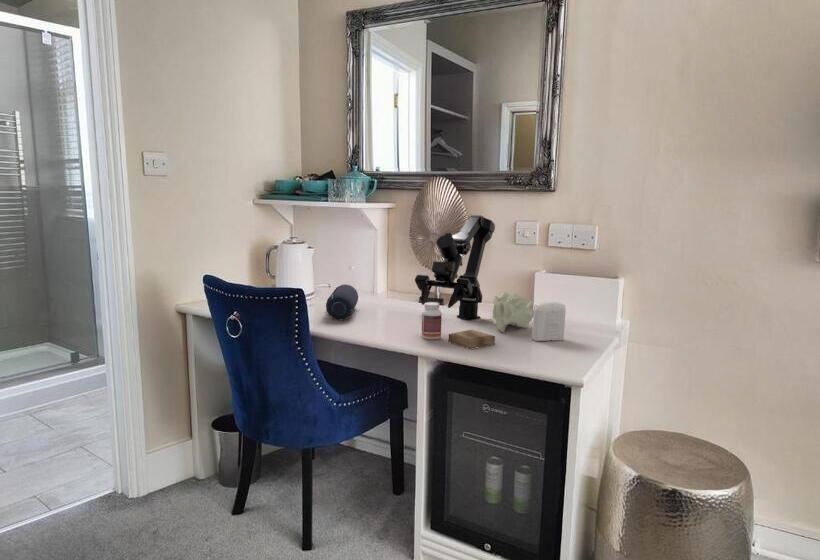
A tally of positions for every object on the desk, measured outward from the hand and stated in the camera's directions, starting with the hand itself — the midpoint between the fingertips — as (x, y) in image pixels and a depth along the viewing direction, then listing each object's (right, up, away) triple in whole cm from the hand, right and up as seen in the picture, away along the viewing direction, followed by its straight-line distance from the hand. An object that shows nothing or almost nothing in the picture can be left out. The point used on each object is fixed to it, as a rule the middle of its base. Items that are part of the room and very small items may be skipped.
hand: (435, 305), depth 179 cm
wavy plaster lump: (+26, -9, +14) cm, 31 cm away
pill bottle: (-1, -10, -1) cm, 10 cm away
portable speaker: (-33, -5, +30) cm, 45 cm away
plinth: (+11, -11, -6) cm, 17 cm away
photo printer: (+36, -11, -1) cm, 37 cm away
